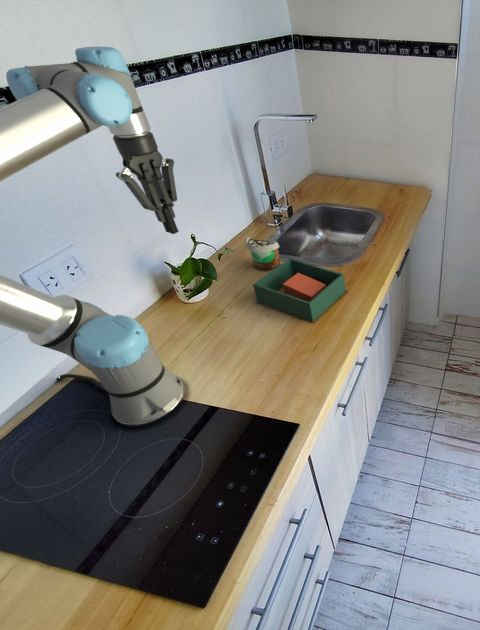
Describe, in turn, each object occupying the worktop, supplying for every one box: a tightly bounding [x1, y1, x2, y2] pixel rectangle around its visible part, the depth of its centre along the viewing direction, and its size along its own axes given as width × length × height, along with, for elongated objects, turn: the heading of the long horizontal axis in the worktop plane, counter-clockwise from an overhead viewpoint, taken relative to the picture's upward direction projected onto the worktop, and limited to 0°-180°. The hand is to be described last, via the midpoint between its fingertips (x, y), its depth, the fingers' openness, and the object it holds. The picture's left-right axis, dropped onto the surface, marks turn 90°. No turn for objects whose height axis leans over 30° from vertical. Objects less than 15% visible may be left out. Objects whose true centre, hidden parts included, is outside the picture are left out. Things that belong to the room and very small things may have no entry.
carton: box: [282, 273, 326, 302], centre depth 128 cm, size 5×8×11 cm
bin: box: [252, 257, 347, 323], centre depth 128 cm, size 22×18×7 cm
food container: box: [245, 235, 281, 271], centre depth 141 cm, size 12×6×10 cm, turn 73°
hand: (172, 231), depth 100 cm, fingers closed
